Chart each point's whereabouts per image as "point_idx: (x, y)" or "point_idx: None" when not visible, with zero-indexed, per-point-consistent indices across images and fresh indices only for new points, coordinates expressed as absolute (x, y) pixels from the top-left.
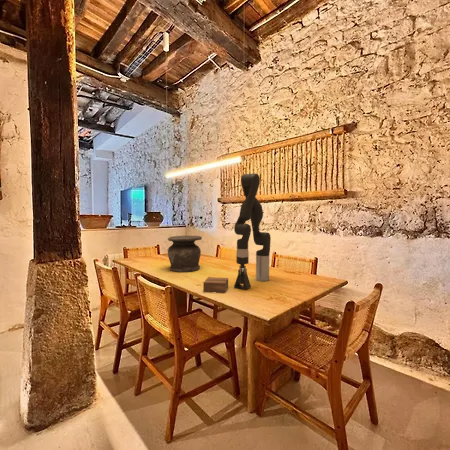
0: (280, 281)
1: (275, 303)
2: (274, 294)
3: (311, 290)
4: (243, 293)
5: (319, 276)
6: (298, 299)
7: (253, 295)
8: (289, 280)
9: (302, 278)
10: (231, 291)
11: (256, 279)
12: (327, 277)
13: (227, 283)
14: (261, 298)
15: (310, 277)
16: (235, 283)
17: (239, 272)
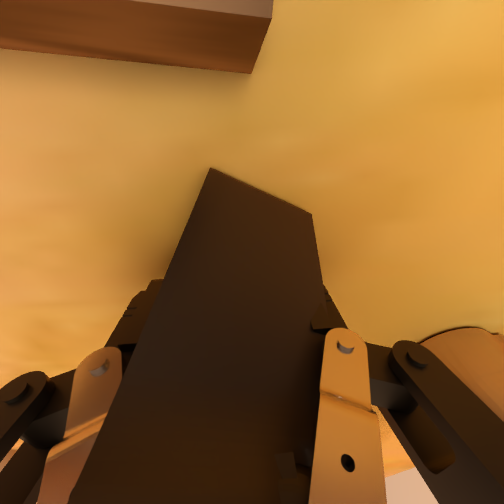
0: (373, 410)
1: None
2: None
3: None
4: (53, 270)
5: (406, 468)
6: None
7: (47, 332)
8: (381, 428)
9: (397, 448)
10: (50, 143)
11: (450, 333)
12: (387, 476)
13: (138, 40)
14: (13, 368)
15: (403, 458)
16: (195, 204)
17: (133, 450)
